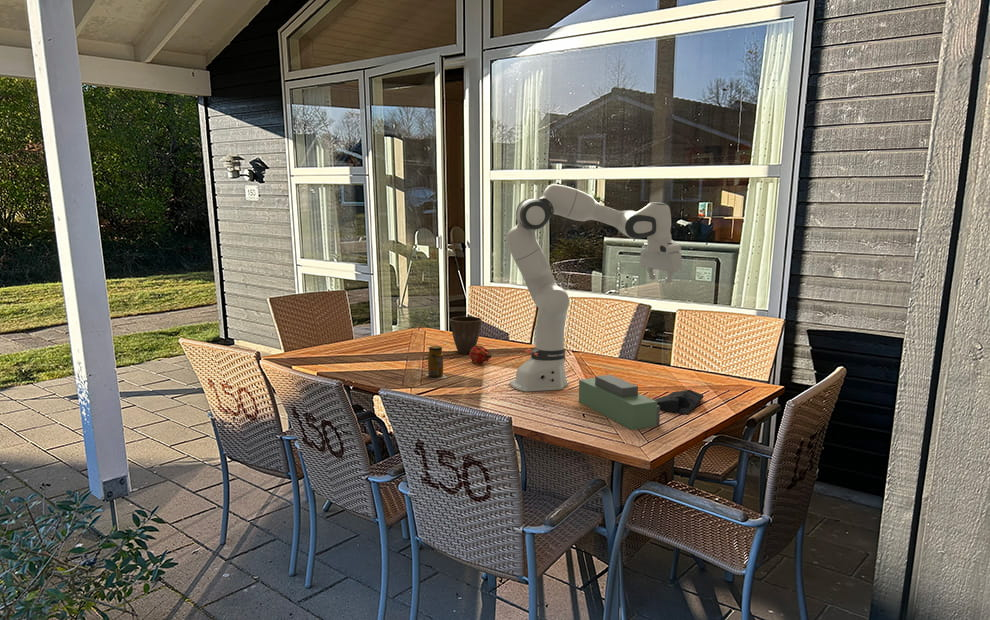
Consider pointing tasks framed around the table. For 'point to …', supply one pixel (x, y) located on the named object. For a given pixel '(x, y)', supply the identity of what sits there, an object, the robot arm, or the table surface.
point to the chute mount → (619, 401)
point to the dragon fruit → (479, 354)
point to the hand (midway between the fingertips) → (660, 280)
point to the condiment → (435, 363)
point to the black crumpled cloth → (679, 401)
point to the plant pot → (465, 332)
